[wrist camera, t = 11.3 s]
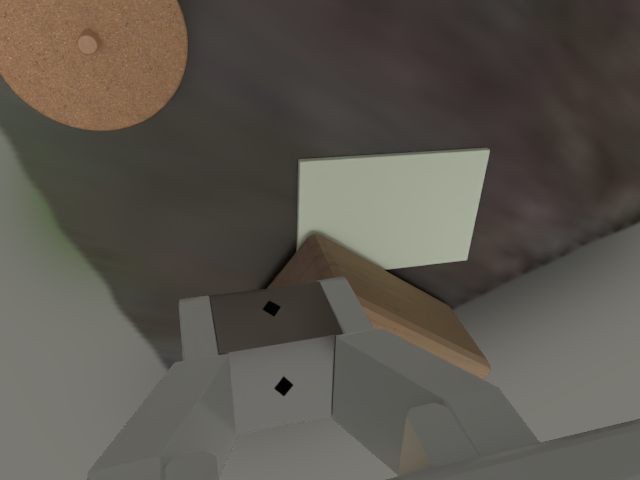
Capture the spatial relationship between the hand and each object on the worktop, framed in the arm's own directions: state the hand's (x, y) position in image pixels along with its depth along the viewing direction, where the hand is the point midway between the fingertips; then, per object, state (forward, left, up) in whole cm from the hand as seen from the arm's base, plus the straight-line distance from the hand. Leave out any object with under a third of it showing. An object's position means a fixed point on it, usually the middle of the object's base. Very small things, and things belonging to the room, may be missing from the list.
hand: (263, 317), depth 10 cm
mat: (-18, +17, -34) cm, 42 cm away
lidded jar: (+5, 0, -34) cm, 34 cm away
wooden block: (-7, +21, -28) cm, 36 cm away
